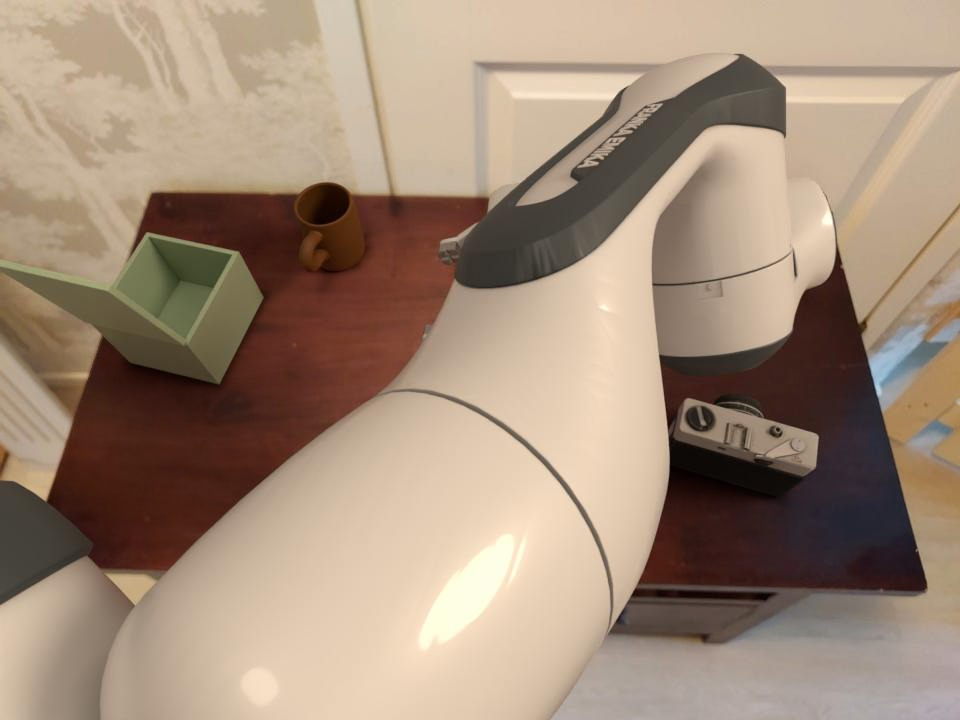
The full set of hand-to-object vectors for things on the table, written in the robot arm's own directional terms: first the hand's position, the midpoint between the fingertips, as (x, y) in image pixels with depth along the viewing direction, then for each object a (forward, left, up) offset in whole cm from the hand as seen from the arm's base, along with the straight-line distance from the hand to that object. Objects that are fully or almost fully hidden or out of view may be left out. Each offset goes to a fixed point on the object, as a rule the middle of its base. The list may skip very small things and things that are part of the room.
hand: (433, 293), depth 56 cm
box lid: (-4, +34, -8) cm, 36 cm away
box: (+3, +34, -25) cm, 42 cm away
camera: (+3, -32, -25) cm, 40 cm away
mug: (+17, +21, -25) cm, 37 cm away
